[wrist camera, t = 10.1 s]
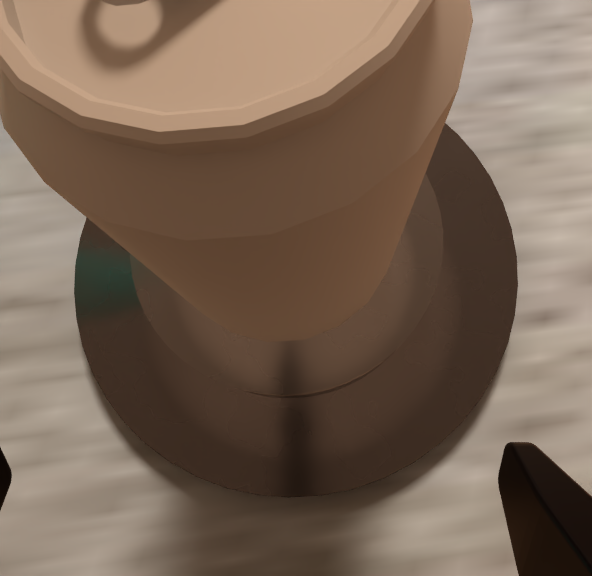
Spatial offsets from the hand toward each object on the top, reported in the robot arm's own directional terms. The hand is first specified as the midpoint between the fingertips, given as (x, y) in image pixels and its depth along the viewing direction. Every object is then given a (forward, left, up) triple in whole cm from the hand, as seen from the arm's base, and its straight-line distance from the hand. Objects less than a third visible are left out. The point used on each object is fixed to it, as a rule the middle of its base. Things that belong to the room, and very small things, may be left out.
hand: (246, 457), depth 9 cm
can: (+6, -3, -8) cm, 10 cm away
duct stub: (+6, -3, -11) cm, 13 cm away
